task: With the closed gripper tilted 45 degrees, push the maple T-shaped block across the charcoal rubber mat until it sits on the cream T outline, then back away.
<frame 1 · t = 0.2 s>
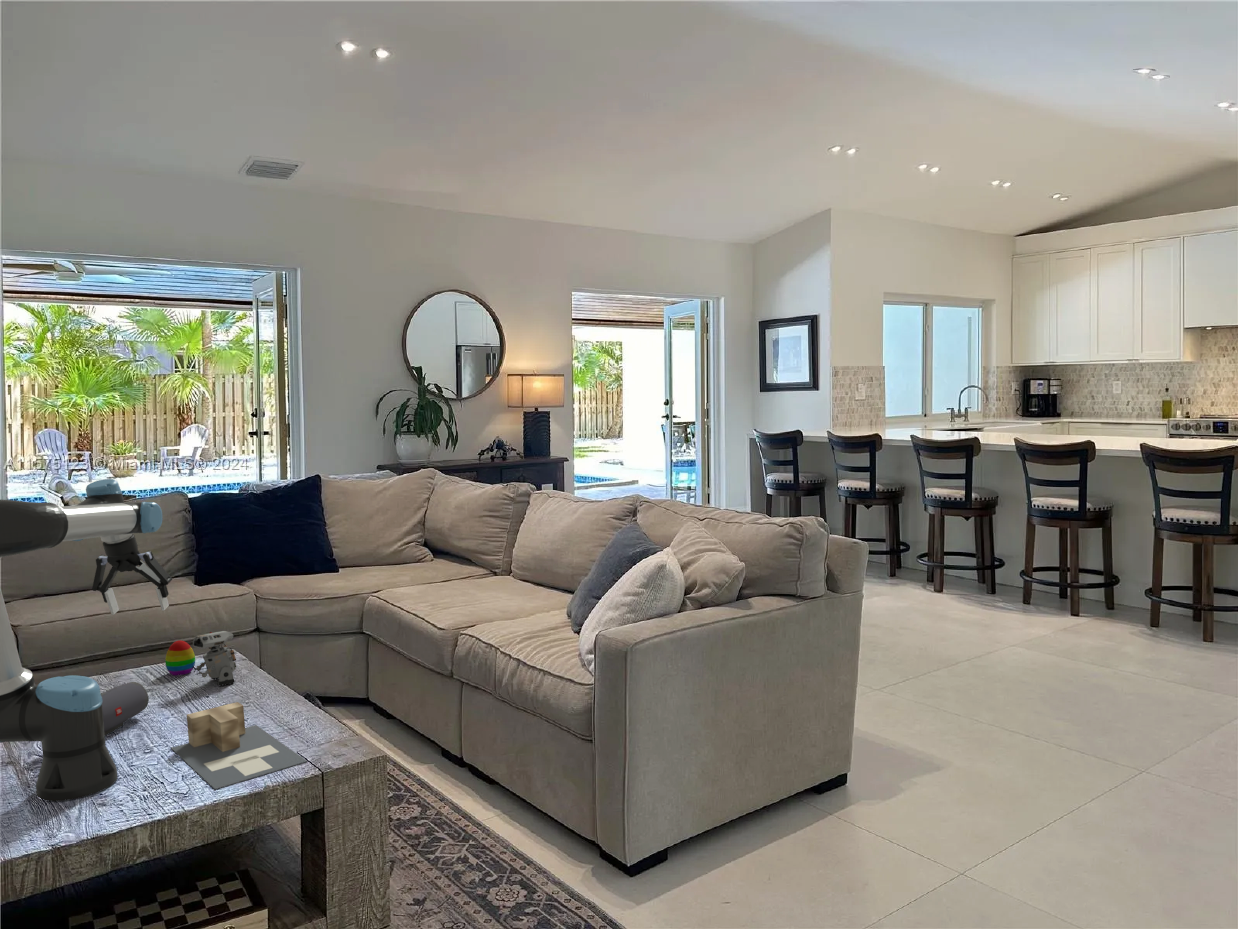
hand: (140, 610, 246), 27 cm above the table, fingers open, 13 cm apart
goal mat: (237, 755, 214), on the table
bluetooth speaker: (105, 734, 232), on the table
decorative egg: (181, 673, 280), on the table
figurine: (215, 684, 268), on the table
t block: (222, 742, 221), resting on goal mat
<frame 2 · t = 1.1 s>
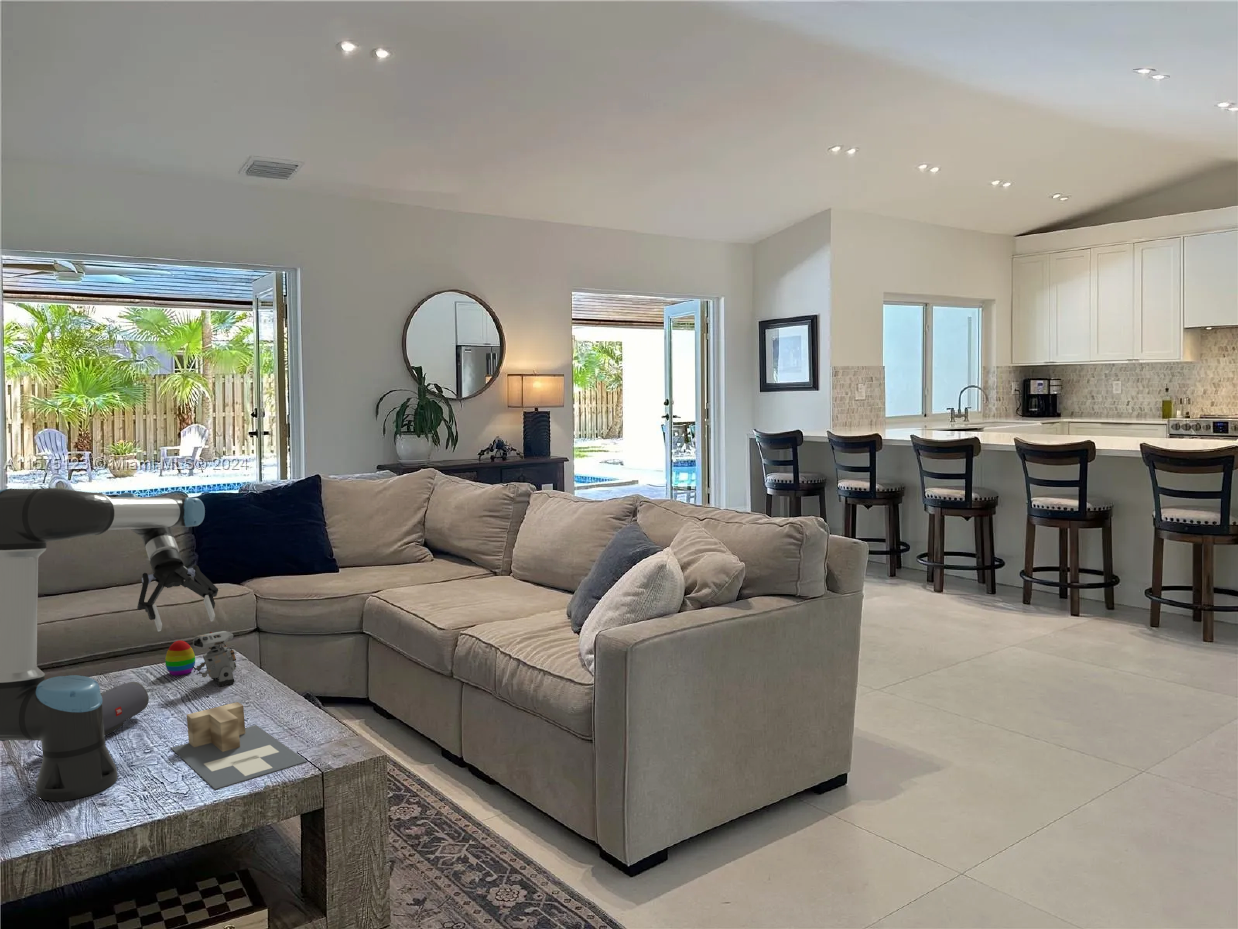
hand: (187, 623, 235), 26 cm above the table, fingers open, 12 cm apart
nothing on the table moved.
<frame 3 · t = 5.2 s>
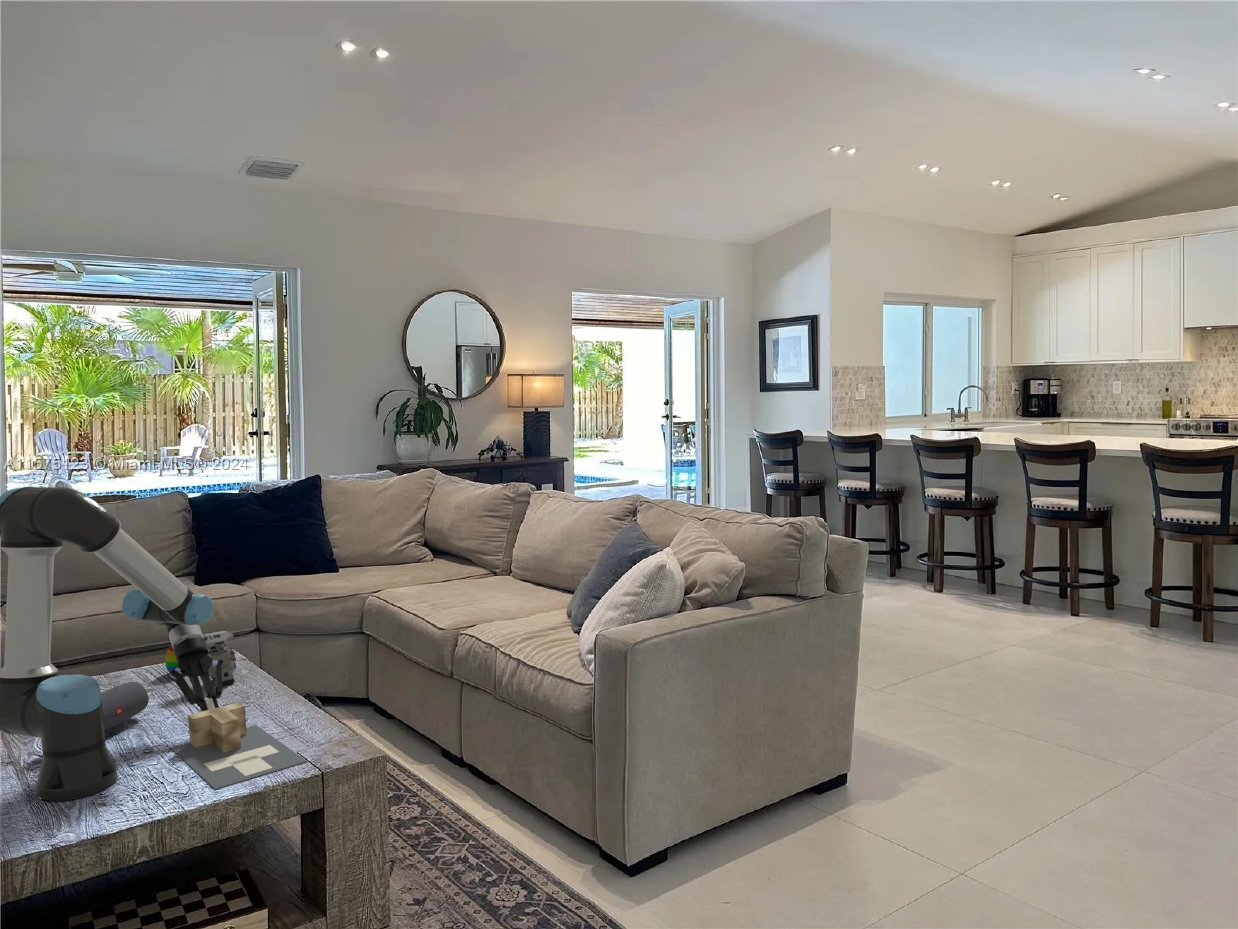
hand: (215, 724, 226), 3 cm above the table, fingers closed
t block: (224, 743, 221), resting on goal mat, touching gripper
everything else where it was.
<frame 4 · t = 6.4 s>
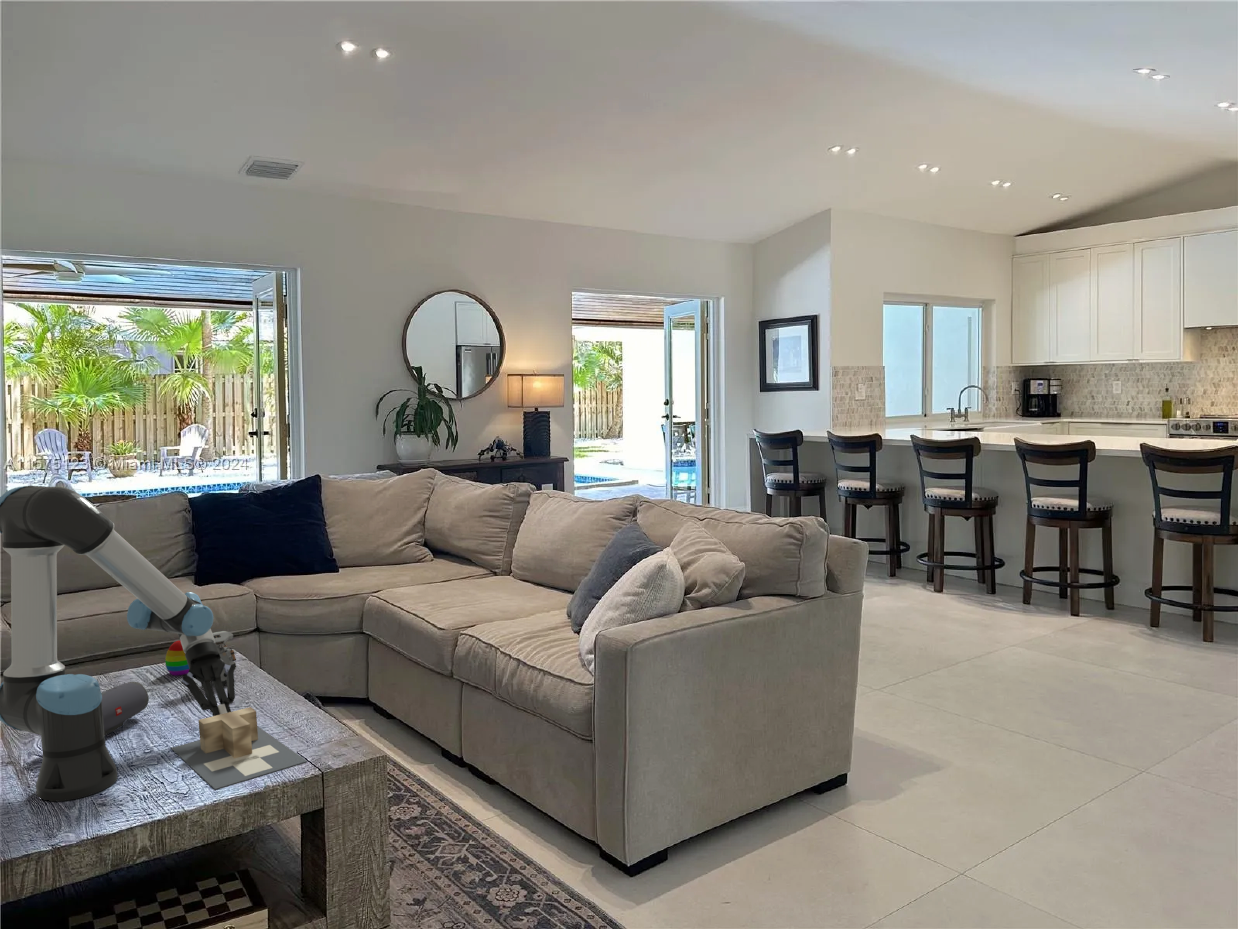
hand: (227, 730, 223), 2 cm above the table, fingers closed
t block: (235, 748, 217), resting on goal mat, touching gripper
everything else where it was.
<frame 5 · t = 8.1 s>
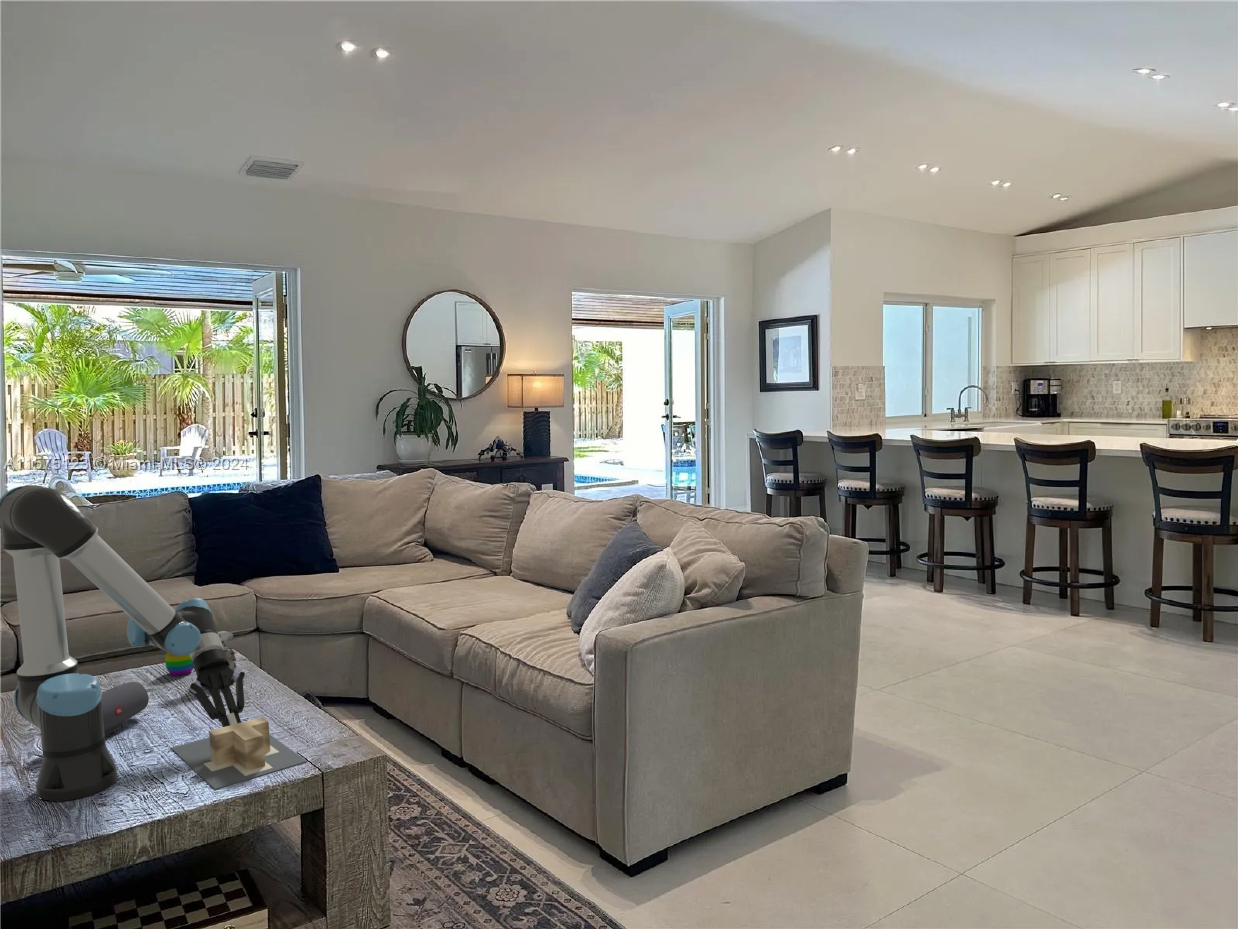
hand: (237, 740, 215), 3 cm above the table, fingers closed
t block: (247, 760, 210), resting on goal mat, touching gripper
everything else where it was.
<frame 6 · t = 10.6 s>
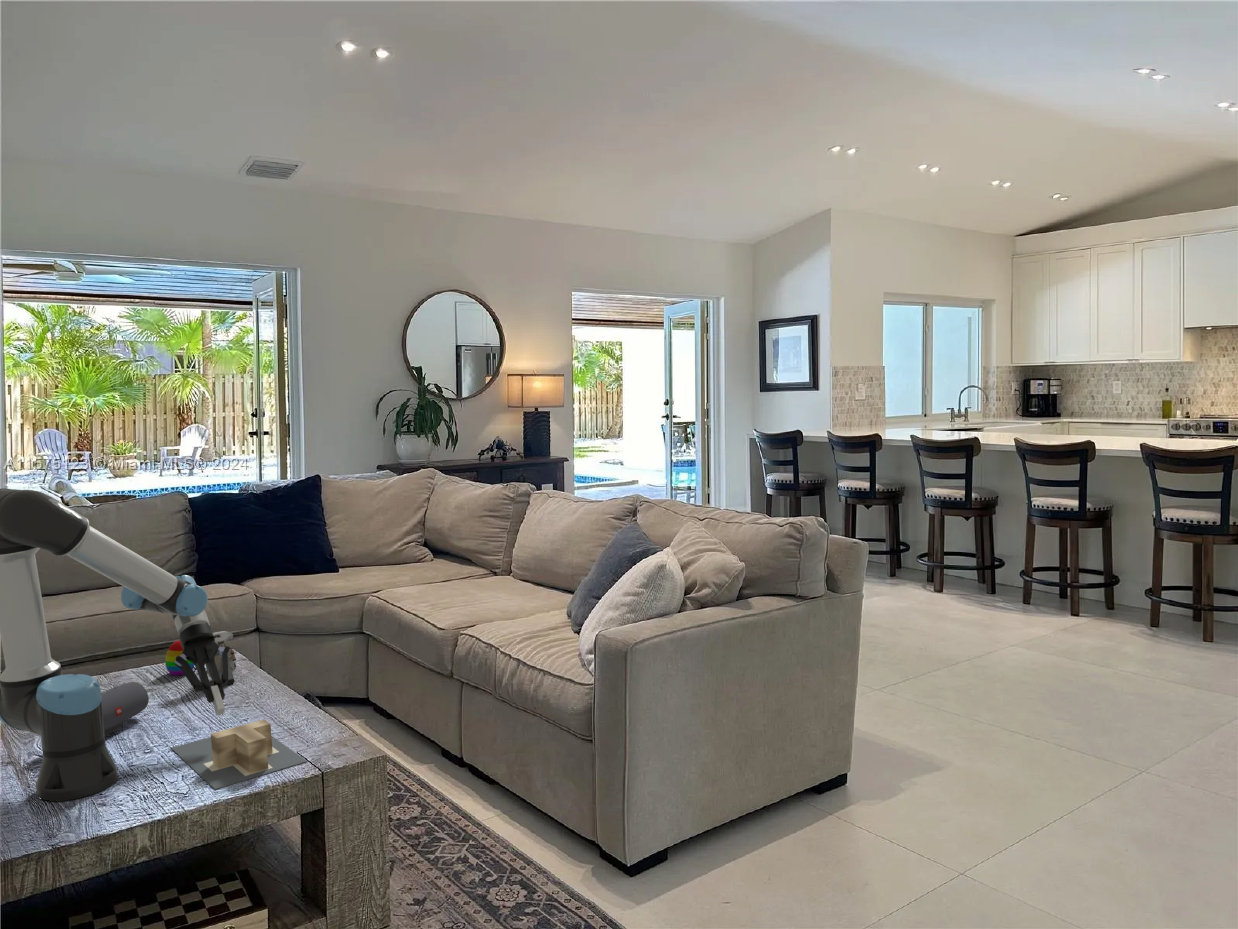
hand: (220, 711, 220), 8 cm above the table, fingers closed
t block: (249, 763, 208), resting on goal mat
everything else where it was.
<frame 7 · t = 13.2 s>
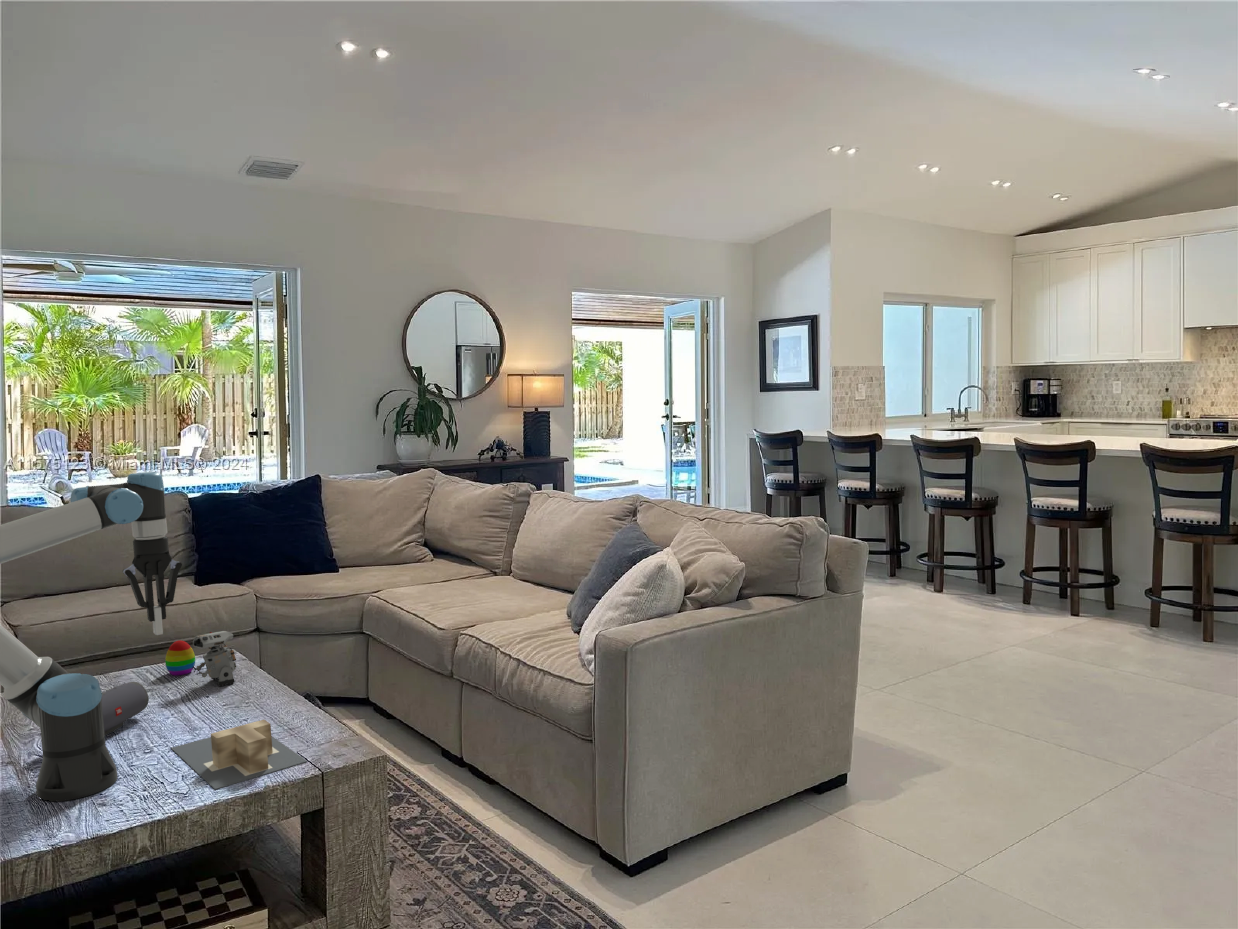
hand: (158, 633, 223), 26 cm above the table, fingers closed
nothing on the table moved.
at the end: t block inside the target area on the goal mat (0.6 cm from its centre), point 0.2 cm above the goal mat's base; t block tilted 0°; t block moved 17.6 cm from its start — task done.
